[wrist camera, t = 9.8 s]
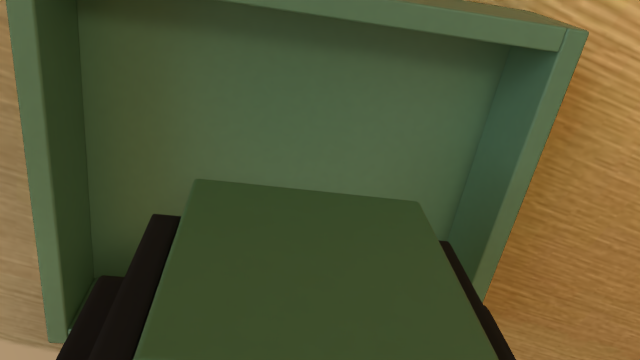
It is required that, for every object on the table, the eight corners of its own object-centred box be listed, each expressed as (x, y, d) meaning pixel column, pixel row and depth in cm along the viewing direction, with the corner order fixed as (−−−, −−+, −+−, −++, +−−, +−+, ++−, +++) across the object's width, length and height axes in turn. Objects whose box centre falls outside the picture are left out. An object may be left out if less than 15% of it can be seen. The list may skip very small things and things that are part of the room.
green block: (185, 347, 11) (134, 577, 7) (194, 175, 9) (129, 362, 5) (374, 358, 12) (422, 576, 8) (419, 199, 10) (514, 383, 6)
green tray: (83, 278, 18) (47, 343, 15) (57, -67, 13) (-5, -65, 10) (432, 303, 19) (458, 365, 17) (531, 11, 14) (591, 31, 12)
